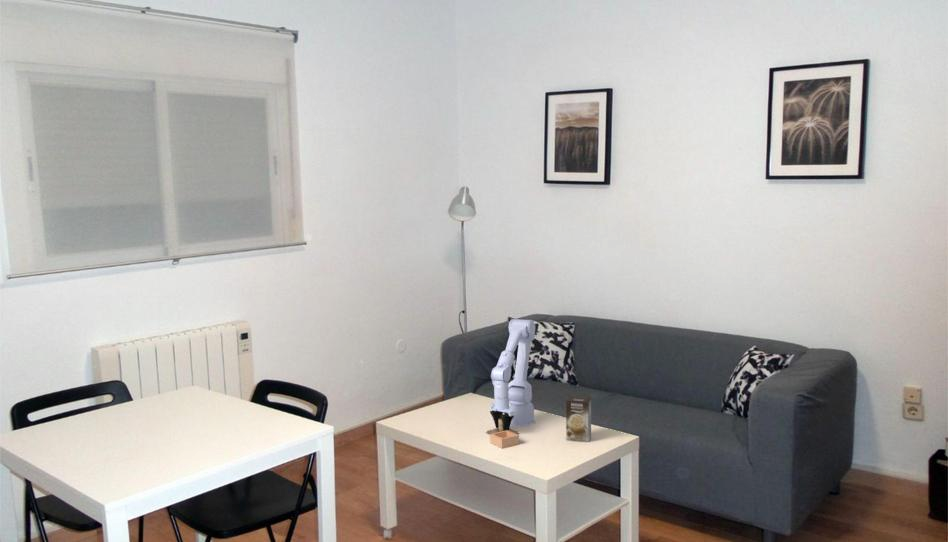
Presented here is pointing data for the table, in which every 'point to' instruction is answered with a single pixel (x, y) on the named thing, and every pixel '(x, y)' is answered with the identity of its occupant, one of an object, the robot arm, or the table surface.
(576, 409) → the coffee box
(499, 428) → the lid
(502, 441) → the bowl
